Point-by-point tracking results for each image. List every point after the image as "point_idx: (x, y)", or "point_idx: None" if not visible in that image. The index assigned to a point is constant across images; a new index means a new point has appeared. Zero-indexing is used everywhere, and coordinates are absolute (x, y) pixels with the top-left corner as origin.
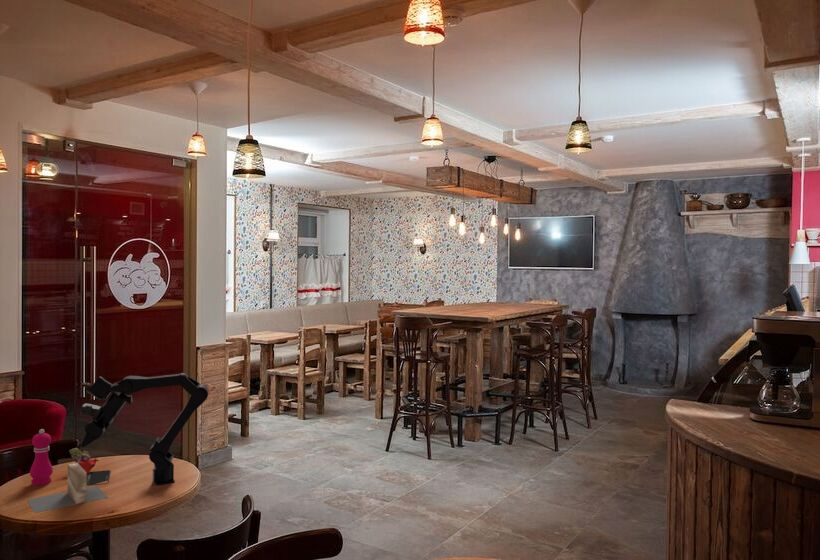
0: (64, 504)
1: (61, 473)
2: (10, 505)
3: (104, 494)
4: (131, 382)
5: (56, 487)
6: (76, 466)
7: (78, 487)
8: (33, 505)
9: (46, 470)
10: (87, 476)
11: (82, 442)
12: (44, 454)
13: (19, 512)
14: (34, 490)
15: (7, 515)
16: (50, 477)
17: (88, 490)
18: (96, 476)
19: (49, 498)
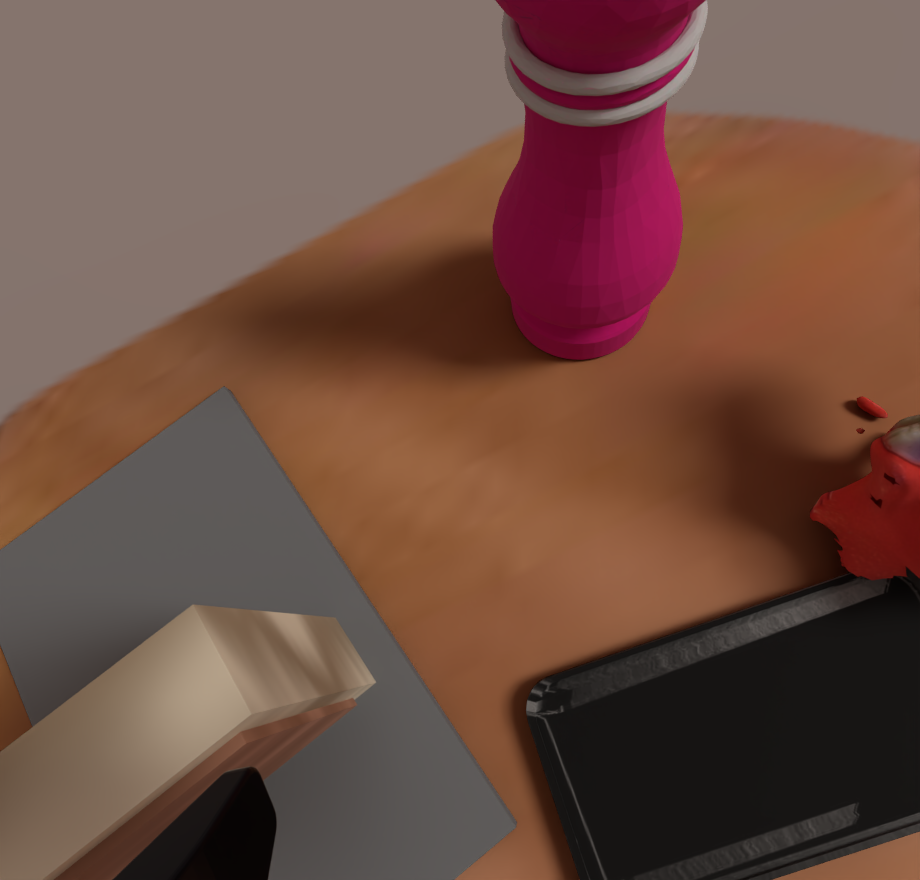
0: None
1: (852, 314)
2: (177, 334)
3: None
4: None
5: (508, 446)
6: (87, 779)
7: None
8: (110, 488)
9: (535, 287)
10: (772, 603)
11: (122, 874)
12: (555, 139)
13: (50, 450)
14: (441, 327)
15: (18, 408)
16: (621, 324)
17: (391, 788)
18: (799, 695)
19: (228, 531)
